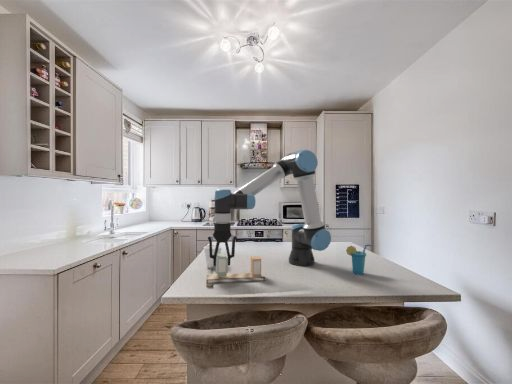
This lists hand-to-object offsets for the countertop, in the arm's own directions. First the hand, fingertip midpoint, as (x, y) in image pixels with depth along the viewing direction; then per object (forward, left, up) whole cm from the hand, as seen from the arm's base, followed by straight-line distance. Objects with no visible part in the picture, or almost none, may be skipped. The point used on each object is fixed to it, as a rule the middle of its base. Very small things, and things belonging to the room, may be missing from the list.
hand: (221, 272), depth 122 cm
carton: (0, 0, -1) cm, 1 cm away
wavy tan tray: (-6, 0, -4) cm, 7 cm away
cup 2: (-71, -2, -4) cm, 71 cm away
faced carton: (-16, 0, -3) cm, 16 cm away
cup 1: (+4, -24, -4) cm, 24 cm away
